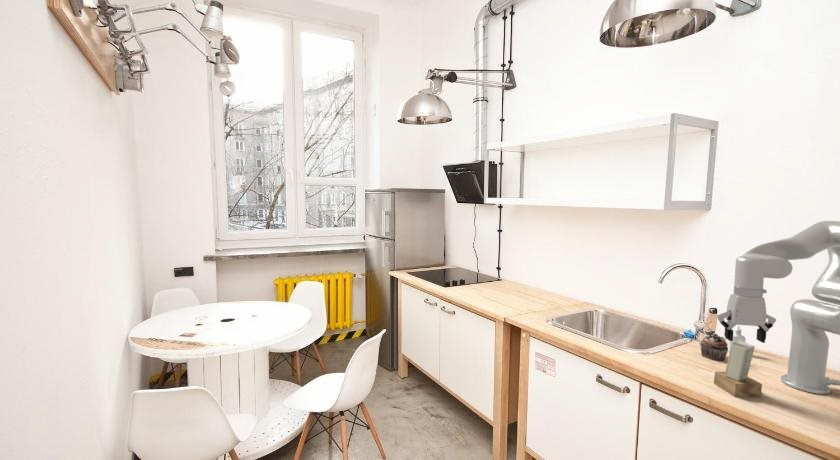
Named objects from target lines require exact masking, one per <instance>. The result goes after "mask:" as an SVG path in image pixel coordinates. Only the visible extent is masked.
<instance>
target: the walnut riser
mask: <svg viewBox="0 0 840 460" xmlns="http://www.w3.org/2000/svg"><path fill="white" fill-rule="evenodd" d="M713 384H714V385H715V386H717V387H718V388H720V389H721V390H722V391H724V392H726V393H727V392H728V395H731V396H732V397H734V398H761V396H762V389H763V384H762V383H761V382H759V381H758V380H755V379H753V378H752V377H749V375H748V376H747V378H745V379H743V380H740V381H736V380H734V379H732V378H730V377H728V376H726V375H725V371H714V378H713Z"/></svg>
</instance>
